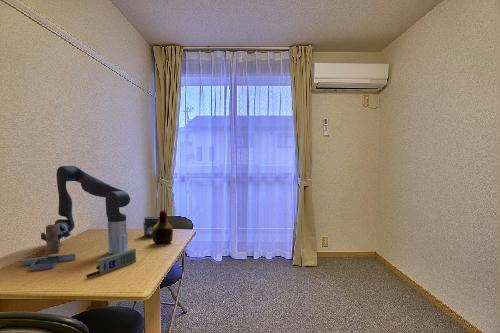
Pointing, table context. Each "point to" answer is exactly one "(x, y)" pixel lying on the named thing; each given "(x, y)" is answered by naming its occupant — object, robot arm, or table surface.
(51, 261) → the keeper
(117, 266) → the handheld radio
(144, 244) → the table surface
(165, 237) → the bottle
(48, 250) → the block
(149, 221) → the supplement container
